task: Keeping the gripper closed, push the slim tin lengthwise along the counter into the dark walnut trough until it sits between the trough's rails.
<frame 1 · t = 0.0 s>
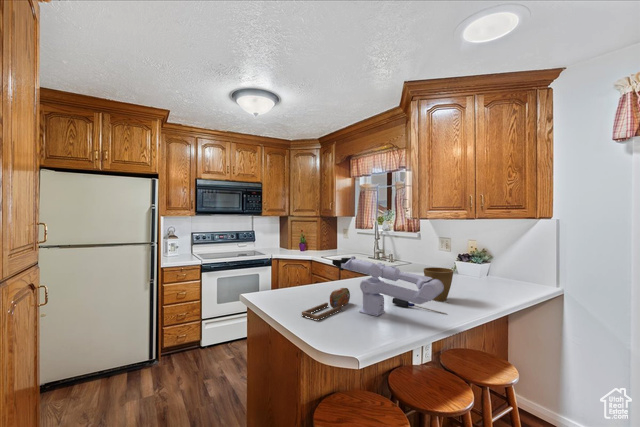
hand: (337, 260, 150), 22 cm above the table, tool horizontal, fingers open, 7 cm apart
plant pot: (438, 299, 159), on the table
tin: (339, 306, 147), on the table
walnut trough: (322, 313, 136), on the table
screwdriver: (418, 310, 143), on the table
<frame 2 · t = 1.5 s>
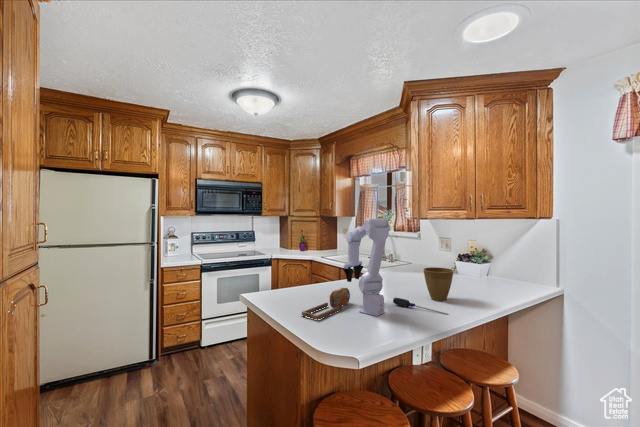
hand: (353, 280, 157), 11 cm above the table, tool pointing down, fingers open, 7 cm apart
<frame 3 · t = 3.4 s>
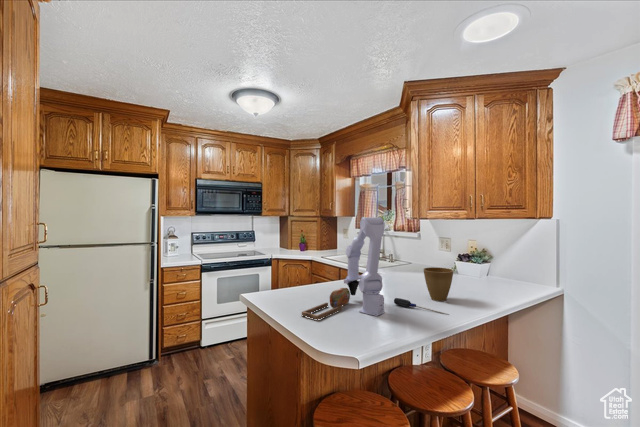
hand: (353, 294, 156), 3 cm above the table, tool pointing down, fingers closed
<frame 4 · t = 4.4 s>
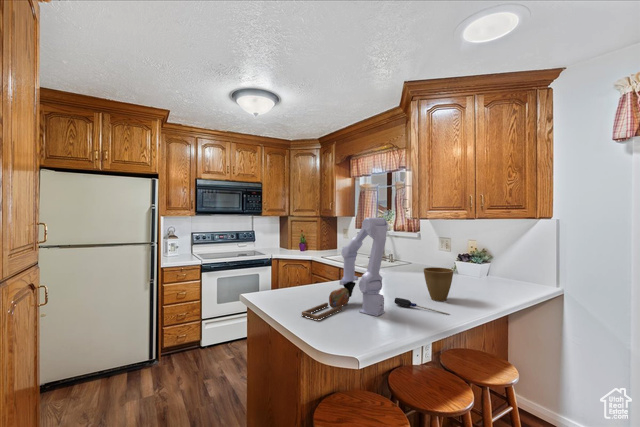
hand: (349, 296, 153), 3 cm above the table, tool pointing down, fingers closed
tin: (339, 306, 147), on the table, touching gripper
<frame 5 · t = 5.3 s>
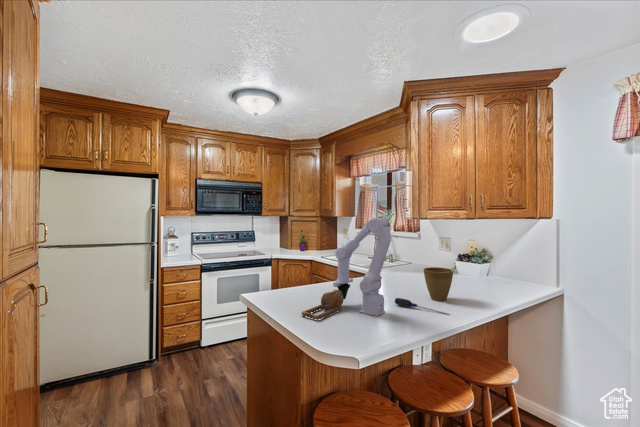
hand: (343, 298, 149), 3 cm above the table, tool pointing down, fingers closed
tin: (332, 309, 143), on the table, touching gripper
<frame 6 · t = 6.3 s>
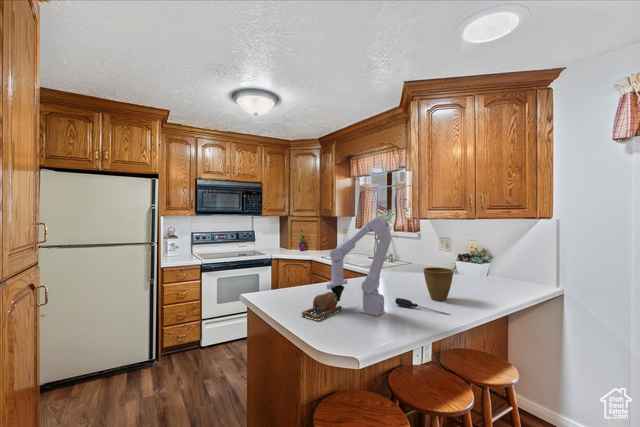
hand: (337, 301, 145), 3 cm above the table, tool pointing down, fingers closed
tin: (325, 311, 139), on the table, touching gripper
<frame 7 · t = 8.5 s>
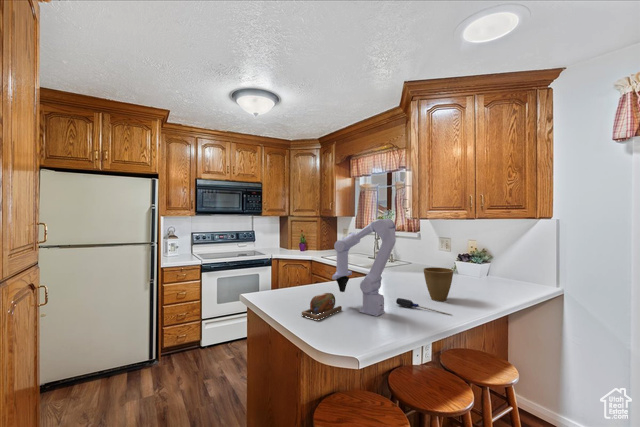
hand: (342, 291, 148), 7 cm above the table, tool pointing down, fingers closed
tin: (322, 312, 137), on the table
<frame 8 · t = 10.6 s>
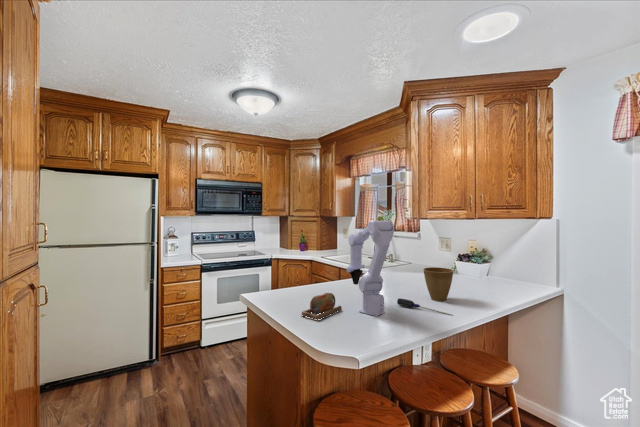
hand: (355, 284, 153), 9 cm above the table, tool pointing down, fingers closed
at the end: walnut trough 0.8 cm from the target spot in the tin, point 0.3 cm above the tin's base; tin tilted 0°; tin moved 12.7 cm from its start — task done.
